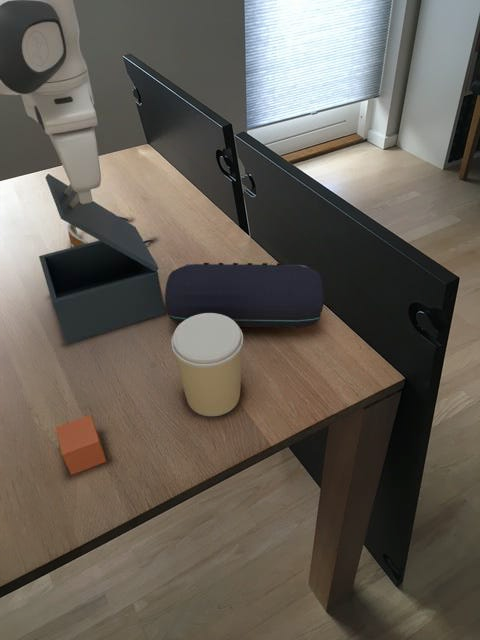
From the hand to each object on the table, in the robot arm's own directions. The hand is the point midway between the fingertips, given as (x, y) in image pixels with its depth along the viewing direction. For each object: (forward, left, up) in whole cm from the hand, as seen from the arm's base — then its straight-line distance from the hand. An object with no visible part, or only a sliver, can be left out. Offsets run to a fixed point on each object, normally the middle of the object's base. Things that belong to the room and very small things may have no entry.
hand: (81, 191), depth 79 cm
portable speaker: (+20, -14, -22) cm, 32 cm away
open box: (0, 0, -22) cm, 22 cm away
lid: (+2, 0, -6) cm, 6 cm away
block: (-10, -29, -22) cm, 38 cm away
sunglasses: (+5, +19, -22) cm, 29 cm away
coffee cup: (+8, -27, -22) cm, 36 cm away
